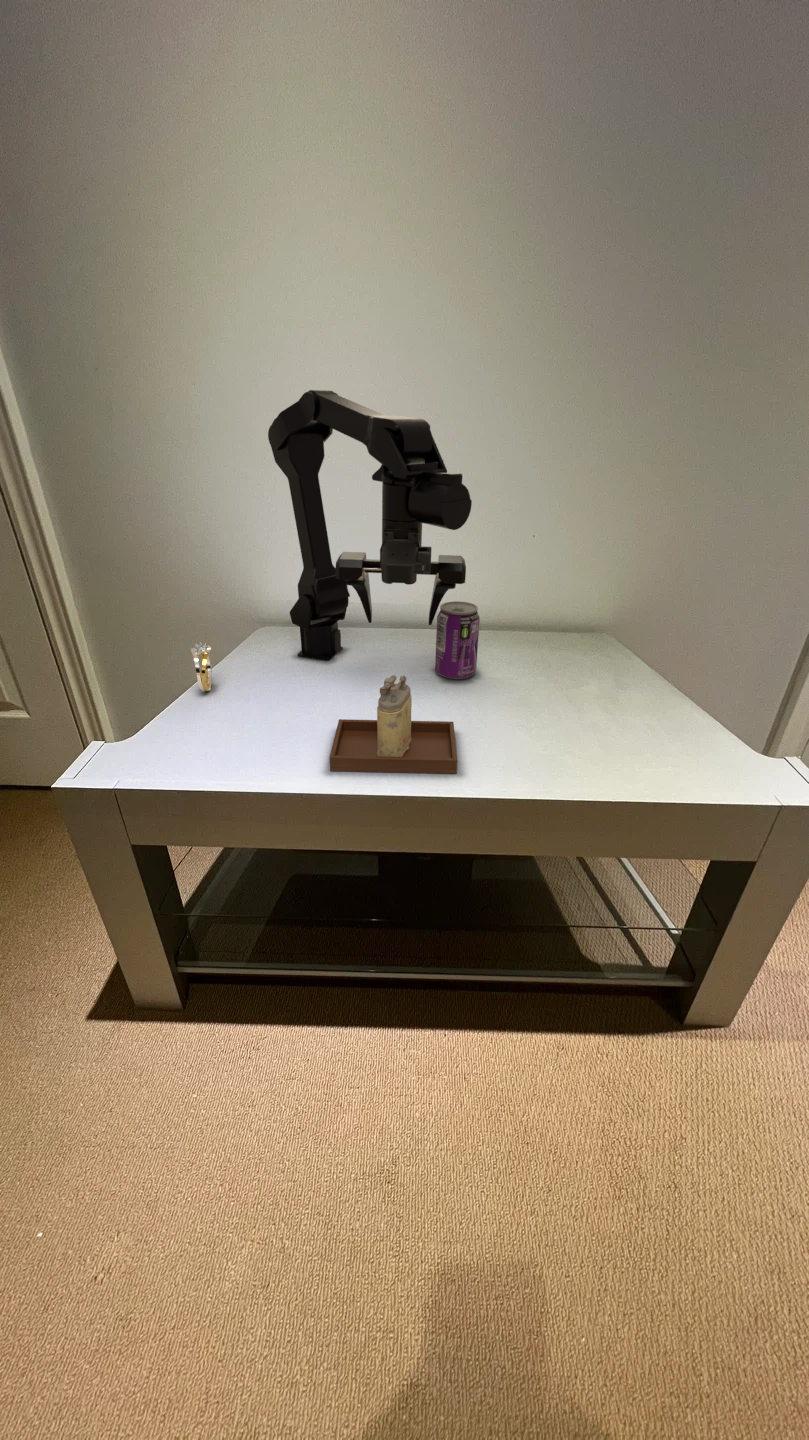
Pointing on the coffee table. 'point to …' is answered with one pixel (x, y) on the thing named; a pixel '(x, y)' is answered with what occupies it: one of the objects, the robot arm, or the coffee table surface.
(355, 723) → the tray
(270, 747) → the coffee table surface
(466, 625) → the beverage can
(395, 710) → the worn yellow canister
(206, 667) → the ring
